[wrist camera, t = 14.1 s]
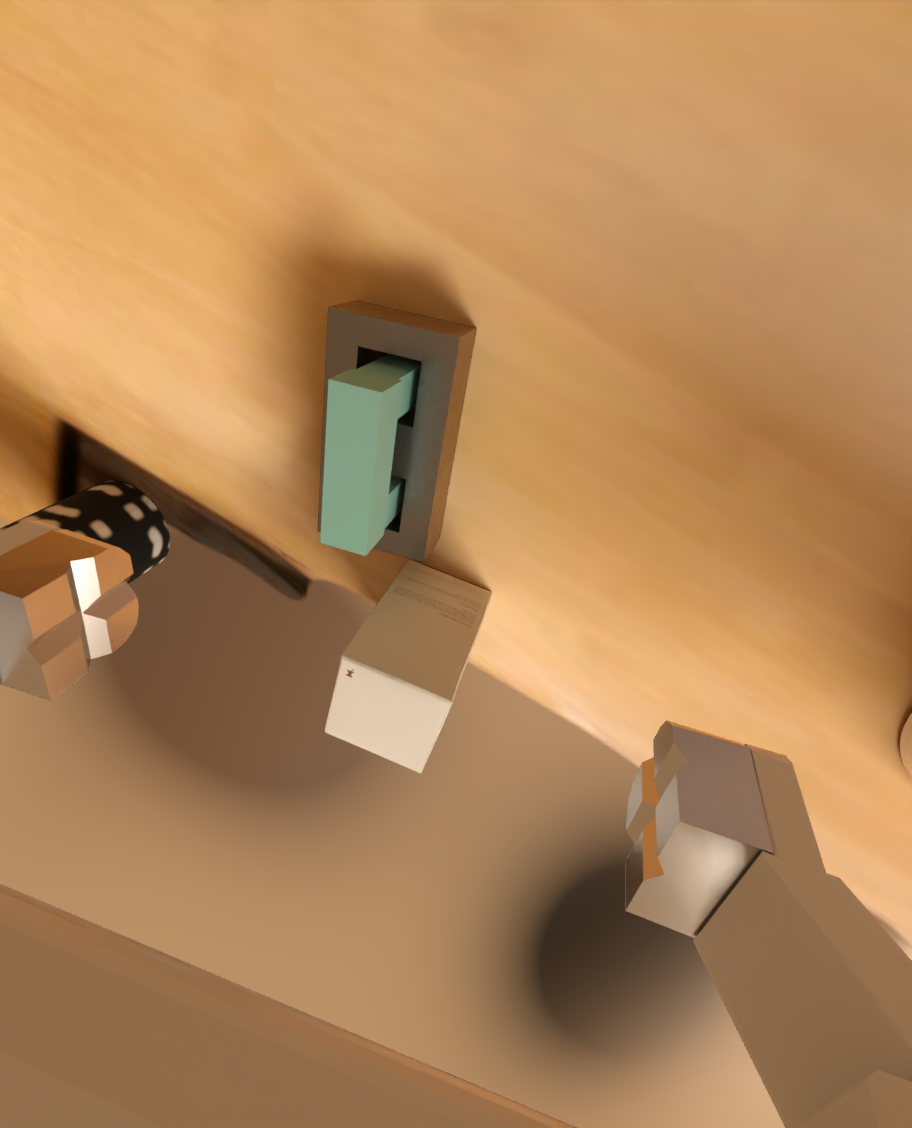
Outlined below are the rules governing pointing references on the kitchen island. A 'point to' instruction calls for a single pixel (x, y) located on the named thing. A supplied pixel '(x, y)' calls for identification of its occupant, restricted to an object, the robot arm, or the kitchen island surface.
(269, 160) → the kitchen island surface
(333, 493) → the green u-shaped block
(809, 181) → the kitchen island surface
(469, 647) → the supplement box
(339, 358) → the gray socket base
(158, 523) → the white-spotted black cylinder
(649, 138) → the kitchen island surface
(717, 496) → the kitchen island surface
